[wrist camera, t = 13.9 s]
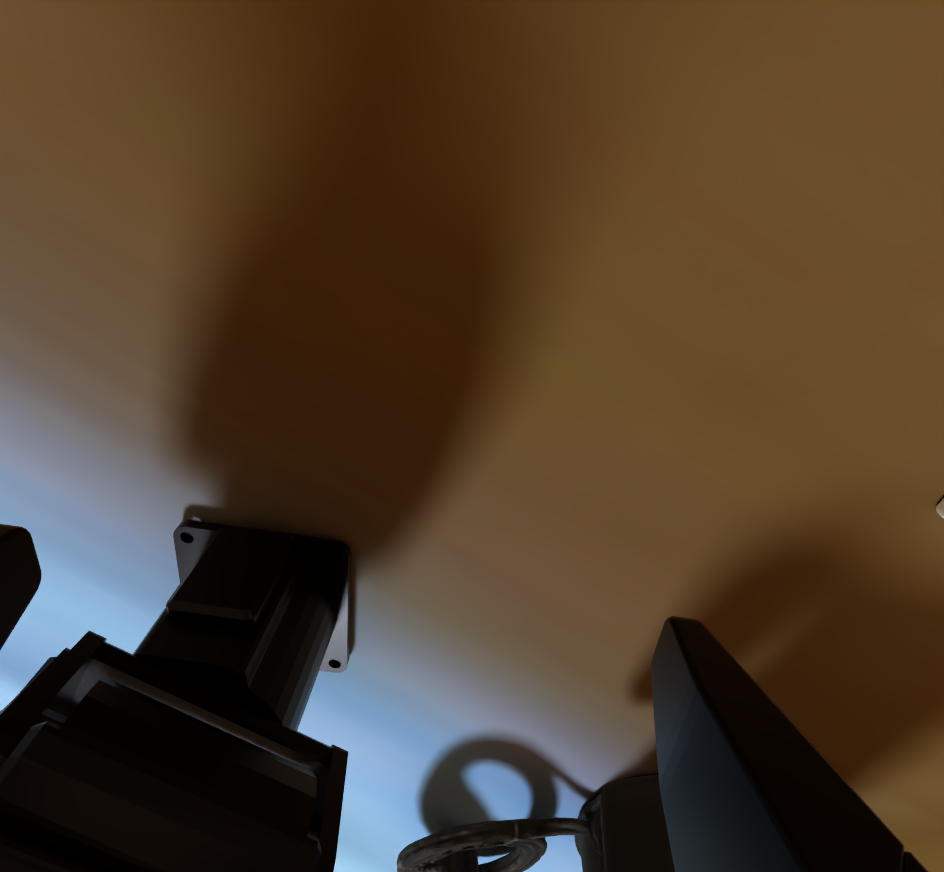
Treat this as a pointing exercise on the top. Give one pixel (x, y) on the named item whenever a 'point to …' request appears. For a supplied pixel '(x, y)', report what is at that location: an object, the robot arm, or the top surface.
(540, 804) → the top surface
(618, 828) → the milk frother
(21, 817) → the robot arm
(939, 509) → the milk
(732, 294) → the top surface
